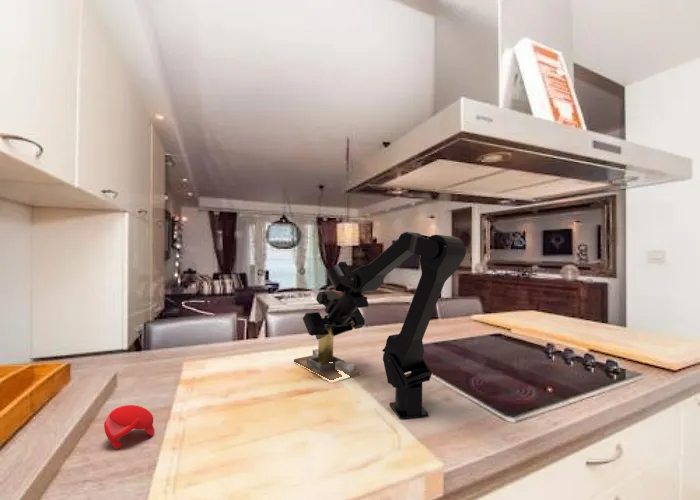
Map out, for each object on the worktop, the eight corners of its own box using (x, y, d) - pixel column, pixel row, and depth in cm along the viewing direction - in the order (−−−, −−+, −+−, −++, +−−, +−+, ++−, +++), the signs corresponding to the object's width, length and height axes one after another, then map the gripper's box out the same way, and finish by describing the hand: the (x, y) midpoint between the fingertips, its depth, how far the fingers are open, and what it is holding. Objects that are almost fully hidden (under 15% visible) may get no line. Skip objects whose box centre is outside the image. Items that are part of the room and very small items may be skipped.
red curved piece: (95, 439, 50) (134, 413, 52) (98, 411, 54) (134, 389, 56) (127, 461, 54) (162, 437, 56) (127, 434, 58) (160, 413, 61)
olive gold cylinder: (331, 363, 90) (332, 319, 91) (316, 362, 91) (317, 319, 91) (334, 358, 95) (334, 316, 95) (319, 357, 95) (320, 316, 95)
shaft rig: (360, 374, 88) (360, 364, 88) (330, 383, 82) (331, 371, 82) (320, 356, 104) (321, 347, 104) (293, 362, 97) (294, 352, 97)
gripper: (359, 281, 96) (337, 312, 104) (307, 283, 84) (286, 318, 93) (376, 310, 90) (352, 341, 98) (322, 317, 78) (299, 351, 86)
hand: (323, 337), depth 94 cm, fingers closed on olive gold cylinder, 4 cm apart
